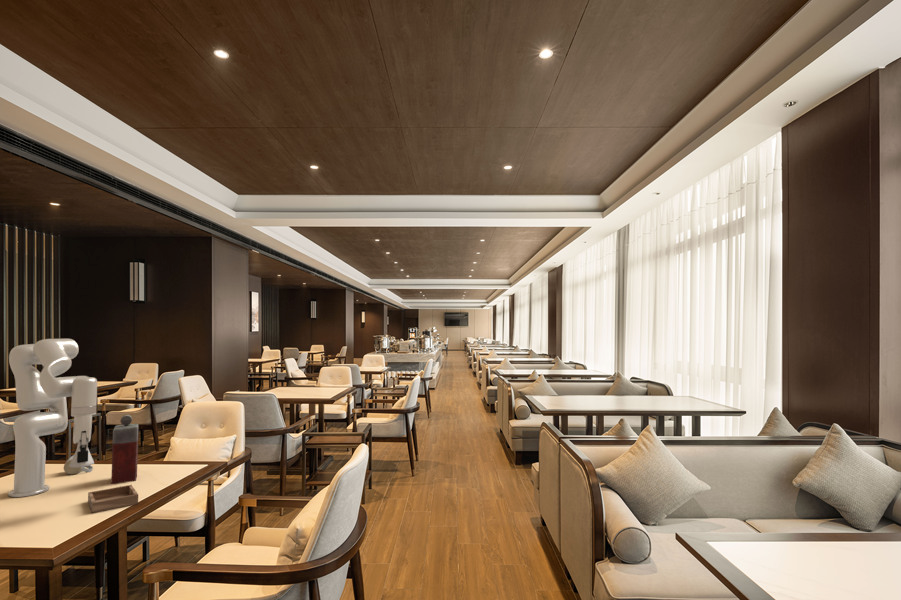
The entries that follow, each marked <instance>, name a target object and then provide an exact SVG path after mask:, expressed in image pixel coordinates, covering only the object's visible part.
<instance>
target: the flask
mask: <svg viewBox="0 0 901 600" xmlns="http://www.w3.org/2000/svg"><path fill="white" fill-rule="evenodd" d="M80 443H82V441H80ZM76 446H77V445H76ZM77 452H78V446H77V447H76V450H75V452H74V454H73V455H74V456H73V455H72V456H73V458H72V460H71V463H70V465H69V467H72V468H74V467H84V466H89V465H91V466H92V465H94V464H95V462H94V458H93V457H92V454H91V452H90V450H89V448H88V461H87V462H81V463H77Z"/></svg>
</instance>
